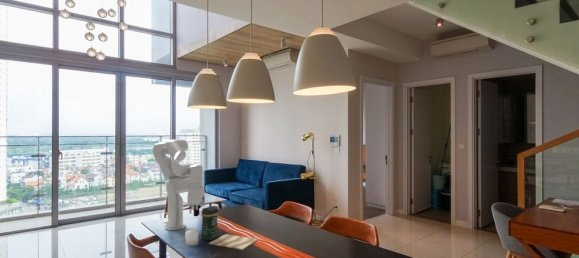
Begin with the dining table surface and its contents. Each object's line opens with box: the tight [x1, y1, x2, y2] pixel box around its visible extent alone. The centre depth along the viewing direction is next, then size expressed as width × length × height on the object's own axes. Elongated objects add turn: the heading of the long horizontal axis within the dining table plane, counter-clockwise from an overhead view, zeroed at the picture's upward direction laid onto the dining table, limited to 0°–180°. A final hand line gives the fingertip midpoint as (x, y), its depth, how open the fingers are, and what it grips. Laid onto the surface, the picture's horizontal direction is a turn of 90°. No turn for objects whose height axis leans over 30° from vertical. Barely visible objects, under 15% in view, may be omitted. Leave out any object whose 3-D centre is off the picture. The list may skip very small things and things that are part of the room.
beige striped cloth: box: [208, 233, 258, 251], centre depth 175 cm, size 22×16×1 cm
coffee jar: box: [200, 205, 219, 241], centre depth 182 cm, size 10×8×19 cm
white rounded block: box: [184, 228, 199, 247], centre depth 173 cm, size 7×7×7 cm
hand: (196, 215), depth 186 cm, fingers closed
